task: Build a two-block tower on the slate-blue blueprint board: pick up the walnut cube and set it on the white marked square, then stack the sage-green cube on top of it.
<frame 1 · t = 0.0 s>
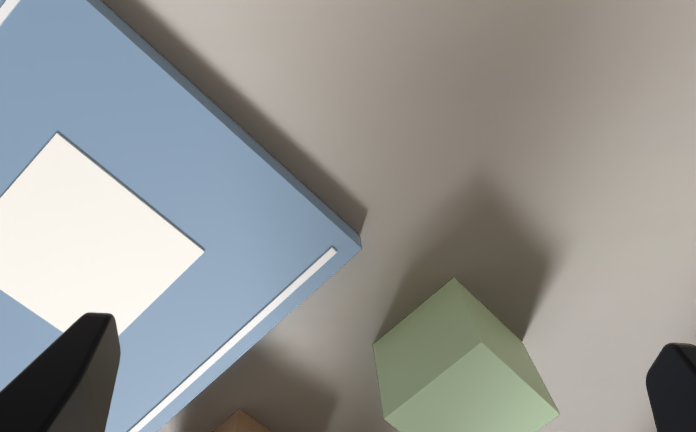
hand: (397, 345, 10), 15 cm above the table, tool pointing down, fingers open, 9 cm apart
blueprint board: (89, 239, 26), on the table
green block: (447, 342, 29), on the table
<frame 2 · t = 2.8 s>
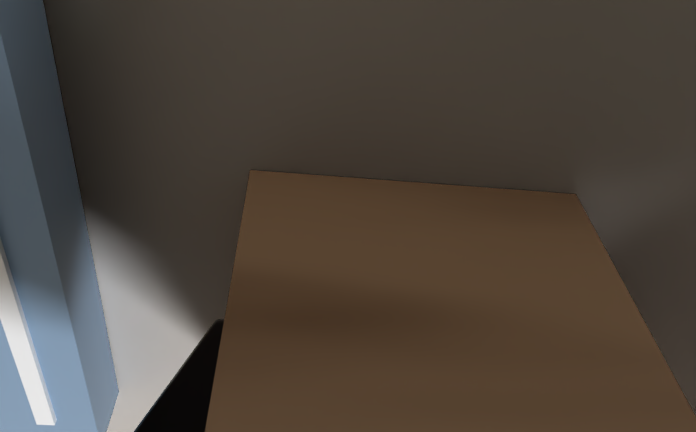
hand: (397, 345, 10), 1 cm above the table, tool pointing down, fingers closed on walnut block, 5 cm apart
walnut block: (391, 298, 11), on the table, touching gripper
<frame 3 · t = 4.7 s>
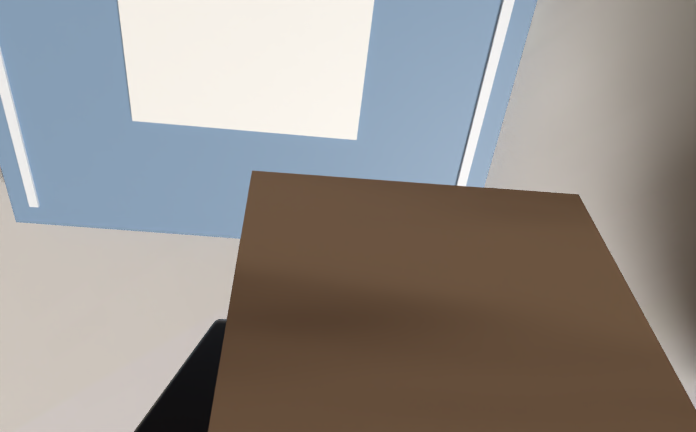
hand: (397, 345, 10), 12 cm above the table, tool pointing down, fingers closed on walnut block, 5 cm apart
blueprint board: (251, 5, 18), on the table
walnut block: (393, 299, 11), point 11 cm above the table, touching gripper
when the fingers open (3 cm above the table, at t = 6.8 s): walnut block drops 1 cm, resting on blueprint board.
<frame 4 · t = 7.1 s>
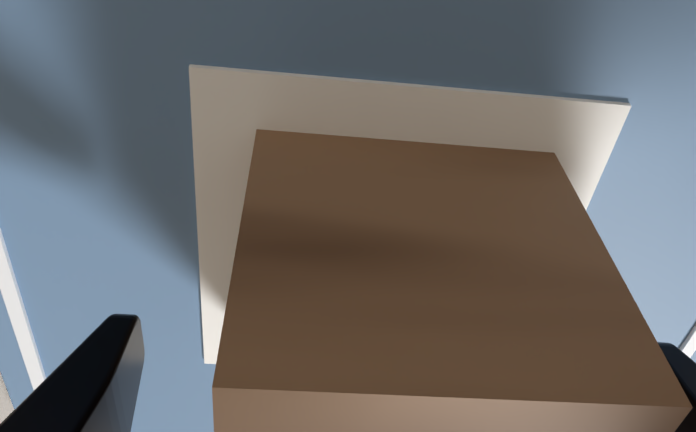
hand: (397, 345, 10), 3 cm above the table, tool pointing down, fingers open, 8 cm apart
blueprint board: (380, 212, 13), on the table
walnut block: (386, 253, 12), point 1 cm above the table, touching blueprint board
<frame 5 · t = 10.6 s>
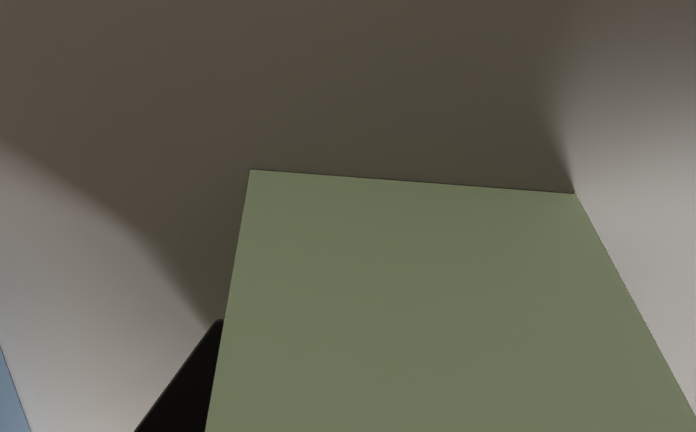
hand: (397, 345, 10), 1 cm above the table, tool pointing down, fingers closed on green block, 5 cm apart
green block: (391, 298, 11), on the table, touching gripper
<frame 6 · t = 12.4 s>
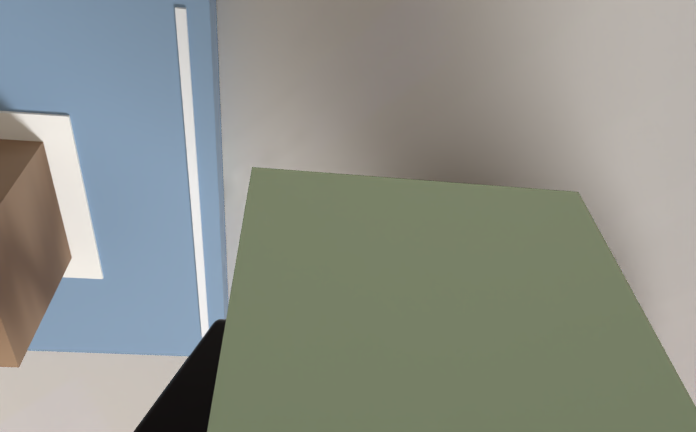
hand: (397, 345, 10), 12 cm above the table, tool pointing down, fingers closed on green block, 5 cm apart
green block: (393, 296, 11), point 11 cm above the table, touching gripper
when the fingers open (8 cm above the table, at t = 14.4 s): green block drops 1 cm, resting on walnut block.
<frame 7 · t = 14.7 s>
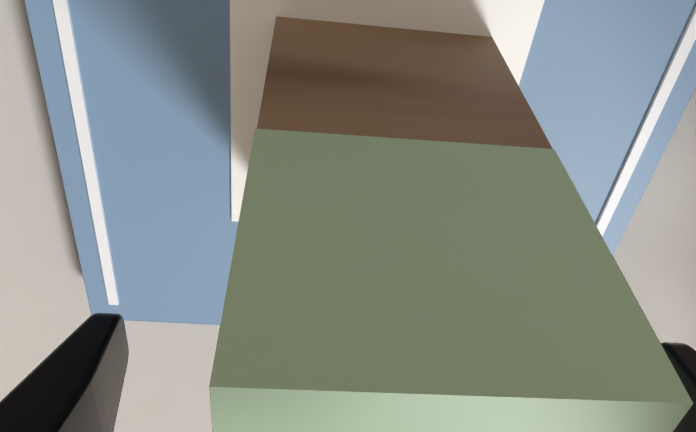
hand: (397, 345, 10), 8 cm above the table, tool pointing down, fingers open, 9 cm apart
blueprint board: (367, 99, 17), on the table
walnut block: (371, 122, 16), point 1 cm above the table, touching blueprint board, green block
green block: (387, 252, 12), point 6 cm above the table, touching walnut block
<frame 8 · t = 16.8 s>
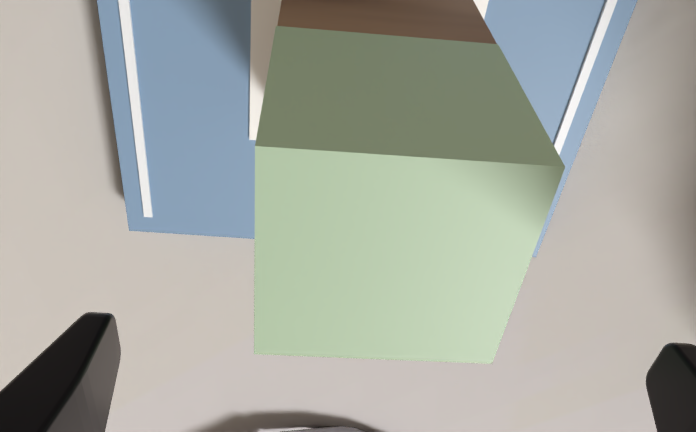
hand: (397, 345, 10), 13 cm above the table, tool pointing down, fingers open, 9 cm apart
blueprint board: (361, 35, 20), on the table
walnut block: (364, 51, 19), point 1 cm above the table, touching blueprint board, green block
green block: (374, 132, 15), point 6 cm above the table, touching walnut block
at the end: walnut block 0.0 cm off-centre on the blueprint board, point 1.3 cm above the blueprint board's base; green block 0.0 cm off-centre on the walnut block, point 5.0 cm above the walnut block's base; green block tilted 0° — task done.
